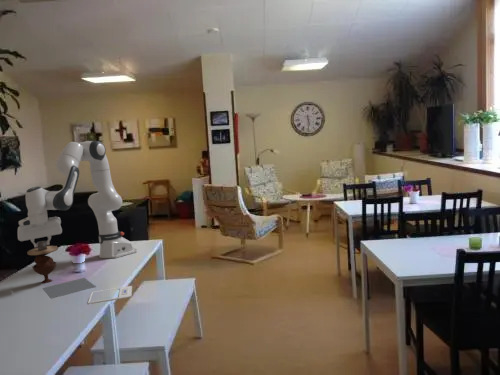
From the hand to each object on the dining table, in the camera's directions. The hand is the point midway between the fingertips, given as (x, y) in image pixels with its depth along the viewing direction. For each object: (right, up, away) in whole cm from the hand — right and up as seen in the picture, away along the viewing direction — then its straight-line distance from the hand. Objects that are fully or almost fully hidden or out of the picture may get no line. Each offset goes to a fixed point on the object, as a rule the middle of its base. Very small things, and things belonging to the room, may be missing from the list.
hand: (42, 246), depth 221 cm
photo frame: (+43, -19, -25) cm, 53 cm away
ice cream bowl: (+2, -19, +2) cm, 19 cm away
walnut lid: (0, -3, 0) cm, 3 cm away
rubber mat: (+18, -19, -11) cm, 28 cm away
